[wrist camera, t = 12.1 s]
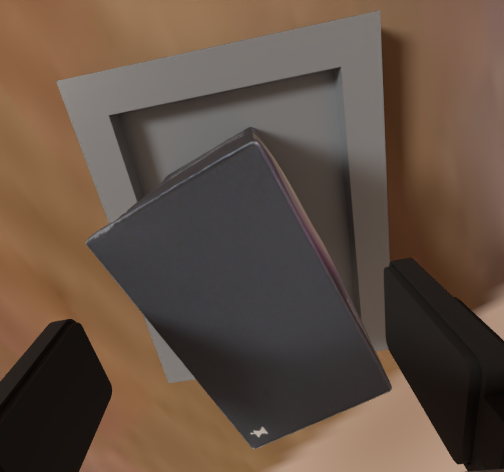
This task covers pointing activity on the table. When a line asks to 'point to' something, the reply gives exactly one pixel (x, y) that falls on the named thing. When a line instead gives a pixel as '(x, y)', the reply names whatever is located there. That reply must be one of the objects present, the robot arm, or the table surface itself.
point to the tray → (268, 128)
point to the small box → (244, 292)
